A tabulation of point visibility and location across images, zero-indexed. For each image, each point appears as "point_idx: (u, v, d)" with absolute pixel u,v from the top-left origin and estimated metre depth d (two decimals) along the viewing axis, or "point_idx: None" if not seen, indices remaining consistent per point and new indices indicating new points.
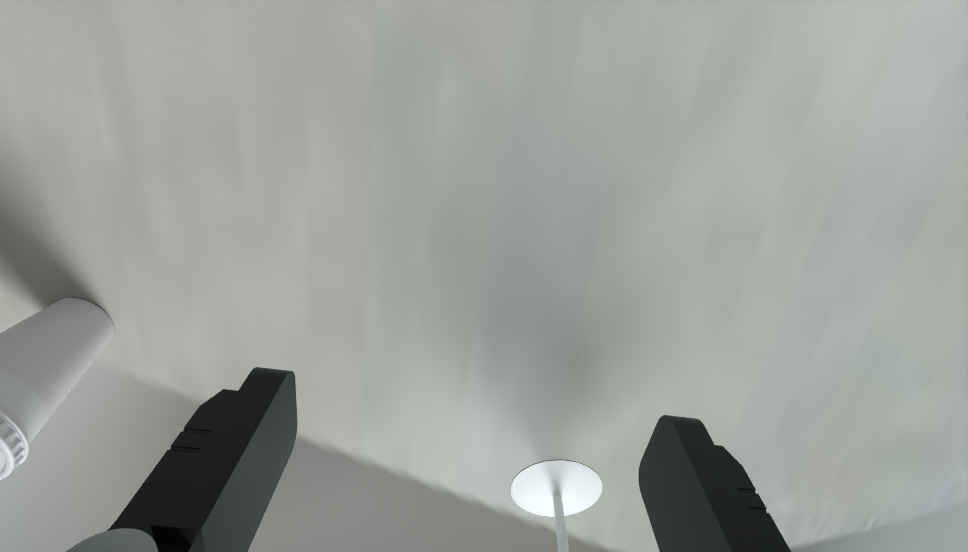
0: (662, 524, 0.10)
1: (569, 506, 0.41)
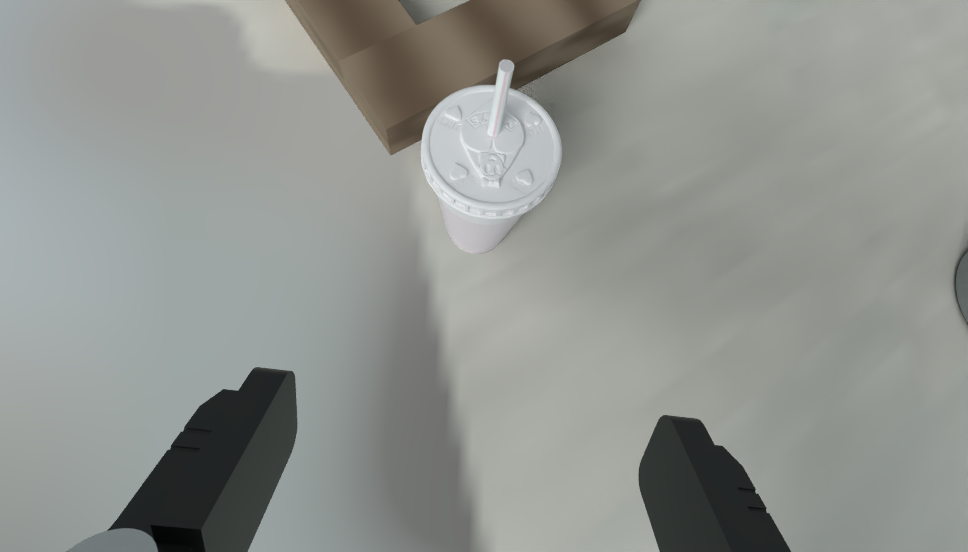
0: (662, 524, 0.10)
1: None
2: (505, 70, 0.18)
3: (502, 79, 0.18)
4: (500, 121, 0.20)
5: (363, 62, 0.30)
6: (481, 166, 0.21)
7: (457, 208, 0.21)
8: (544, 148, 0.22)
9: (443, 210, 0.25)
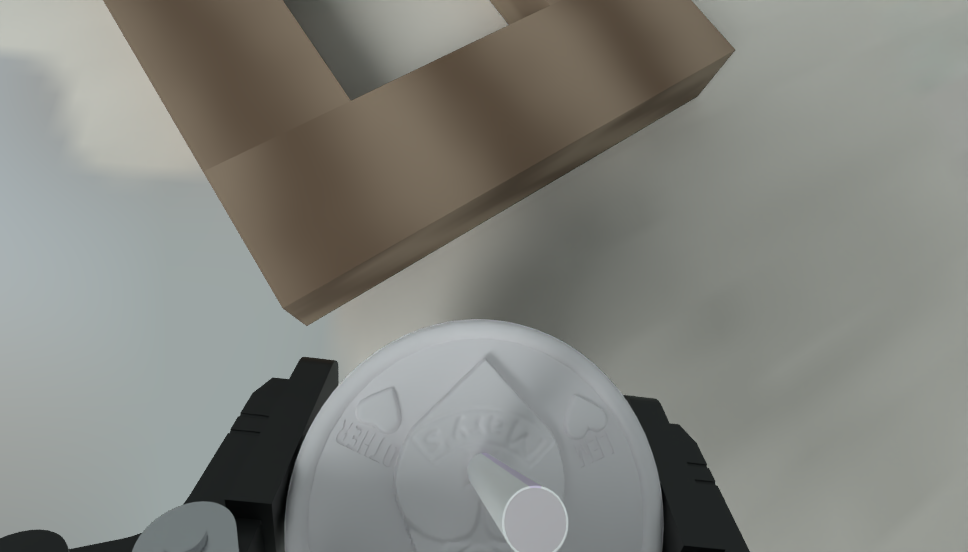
0: None
1: None
2: (530, 531, 0.04)
3: (514, 544, 0.04)
4: None
5: (248, 173, 0.16)
6: None
7: None
8: (617, 505, 0.08)
9: None
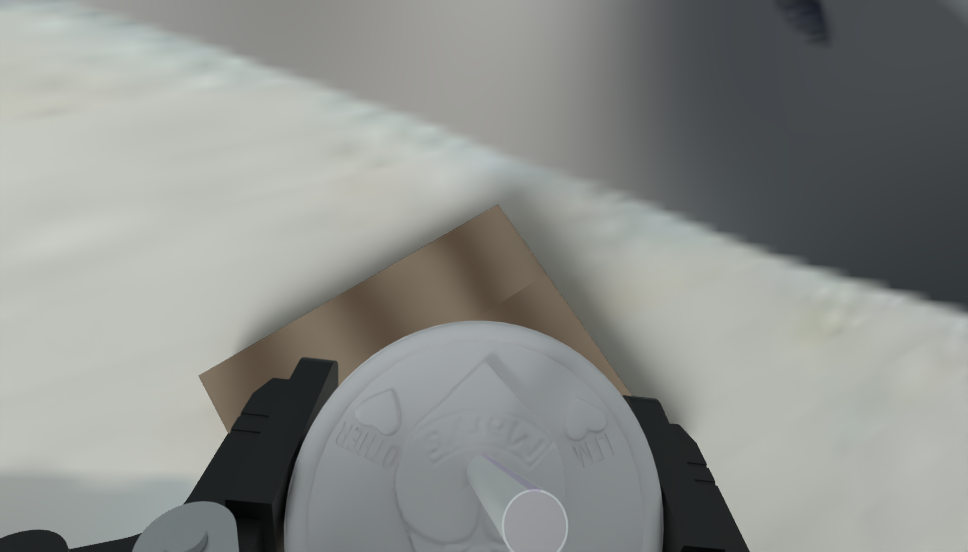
0: None
1: None
2: (530, 535, 0.04)
3: (514, 548, 0.04)
4: None
5: None
6: None
7: None
8: (617, 507, 0.08)
9: None
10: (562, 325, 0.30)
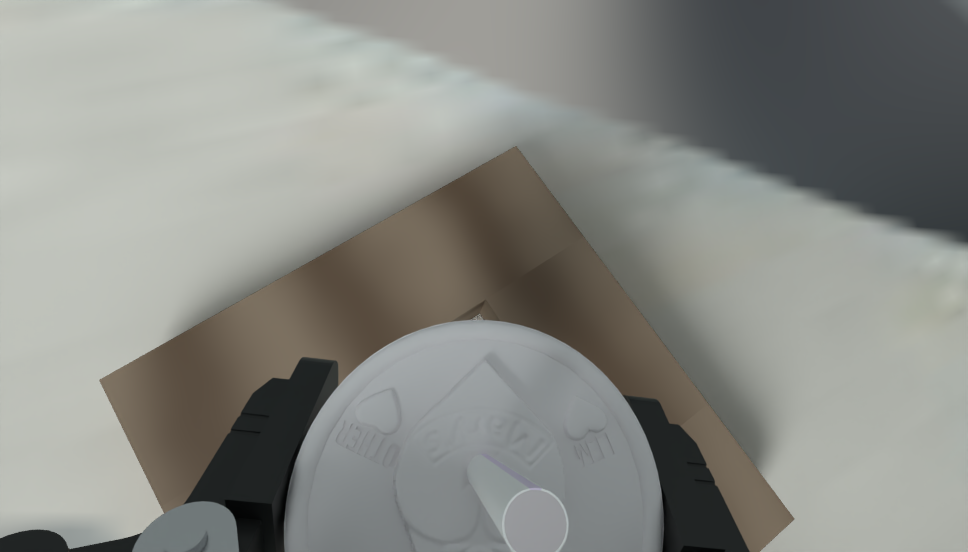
0: None
1: None
2: (529, 533, 0.04)
3: (514, 547, 0.04)
4: None
5: None
6: None
7: None
8: (617, 506, 0.08)
9: None
10: (607, 305, 0.22)
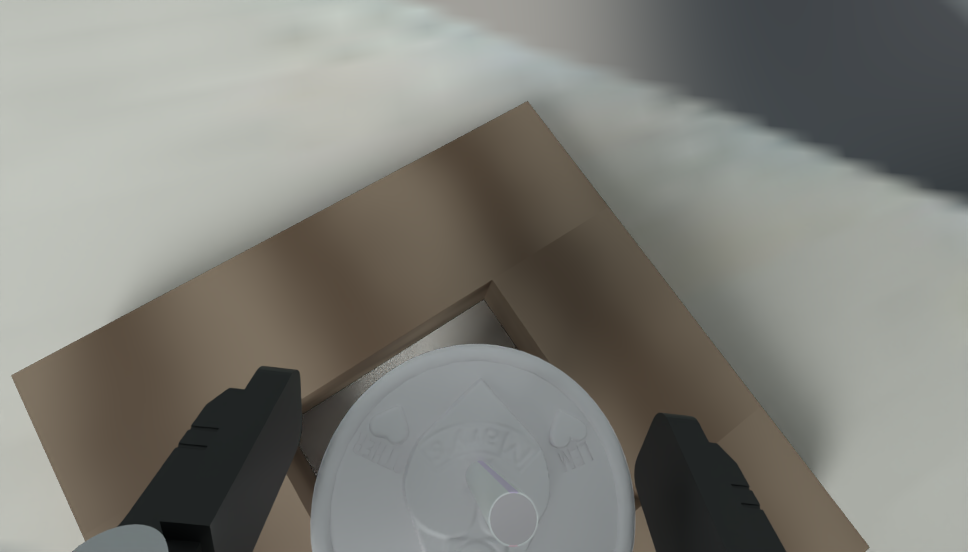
0: (657, 521, 0.10)
1: None
2: (510, 526, 0.05)
3: (498, 535, 0.06)
4: None
5: None
6: None
7: None
8: (595, 505, 0.10)
9: None
10: (638, 287, 0.18)
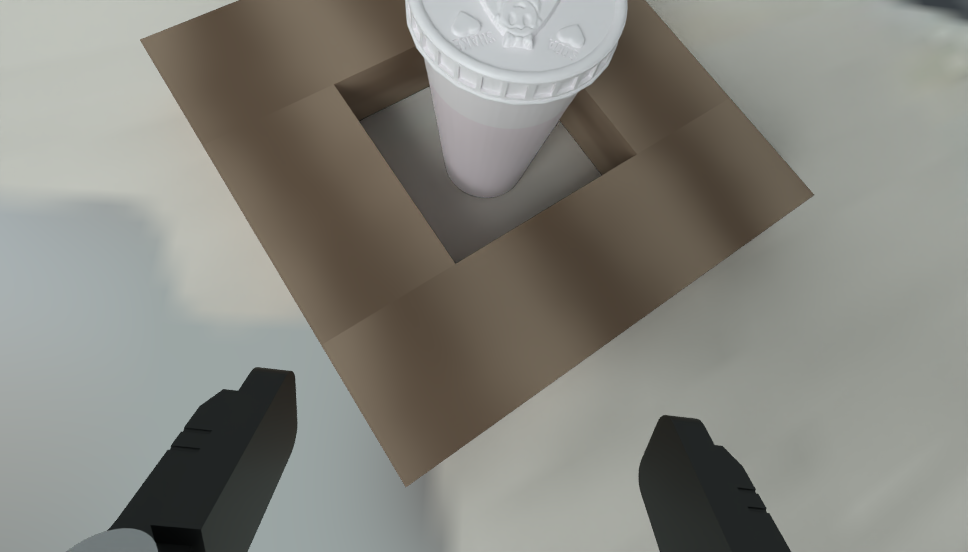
0: (662, 524, 0.10)
1: None
2: None
3: None
4: None
5: (364, 345, 0.17)
6: (502, 16, 0.13)
7: (463, 86, 0.13)
8: None
9: (440, 117, 0.17)
10: (631, 13, 0.22)
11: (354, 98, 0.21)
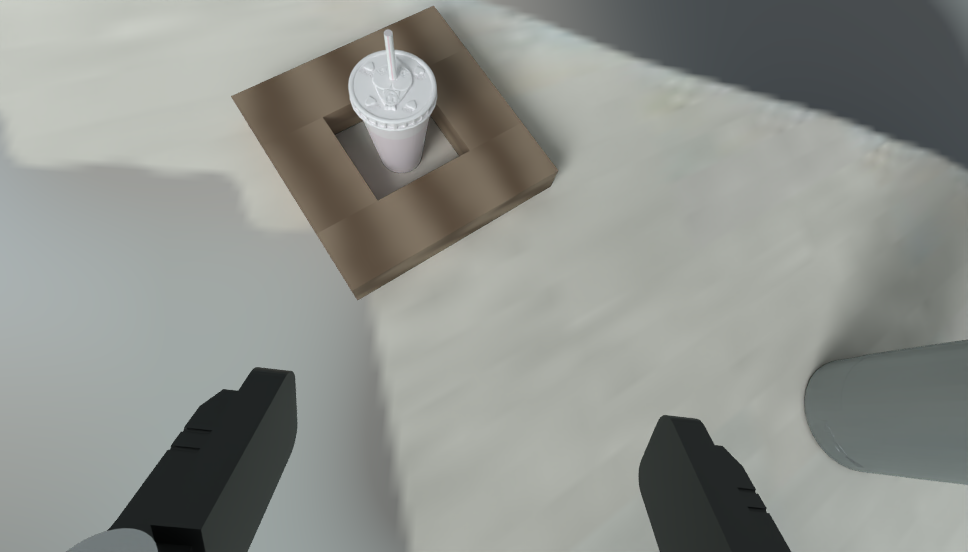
0: (662, 524, 0.10)
1: None
2: (387, 35, 0.31)
3: (386, 40, 0.31)
4: (394, 69, 0.34)
5: (335, 234, 0.38)
6: (384, 97, 0.34)
7: (370, 124, 0.35)
8: (425, 88, 0.35)
9: None
10: (475, 78, 0.44)
11: (333, 122, 0.43)
